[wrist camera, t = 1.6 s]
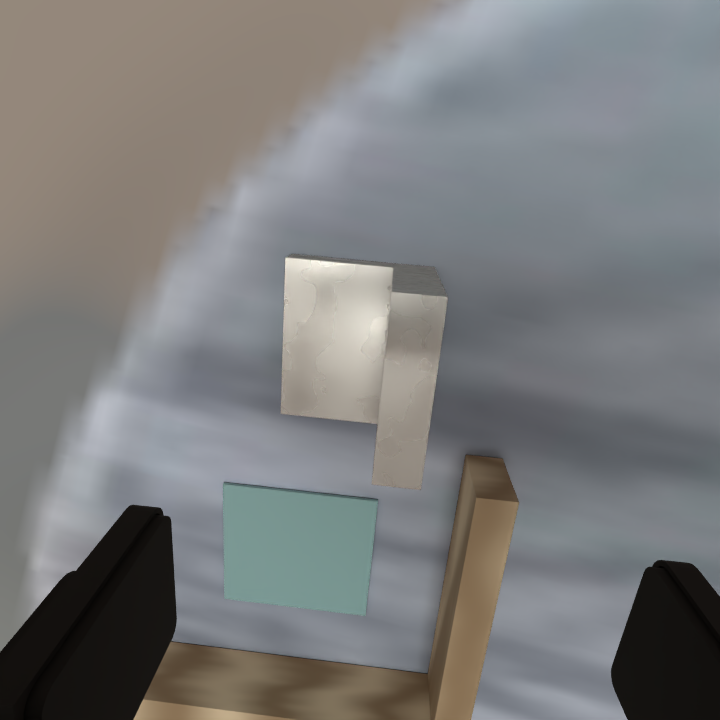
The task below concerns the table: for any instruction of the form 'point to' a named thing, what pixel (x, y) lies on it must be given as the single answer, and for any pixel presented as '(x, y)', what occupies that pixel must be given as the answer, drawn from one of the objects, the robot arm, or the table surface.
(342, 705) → the wooden l-shaped piece
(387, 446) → the bracket
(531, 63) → the table surface
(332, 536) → the teal square plate
